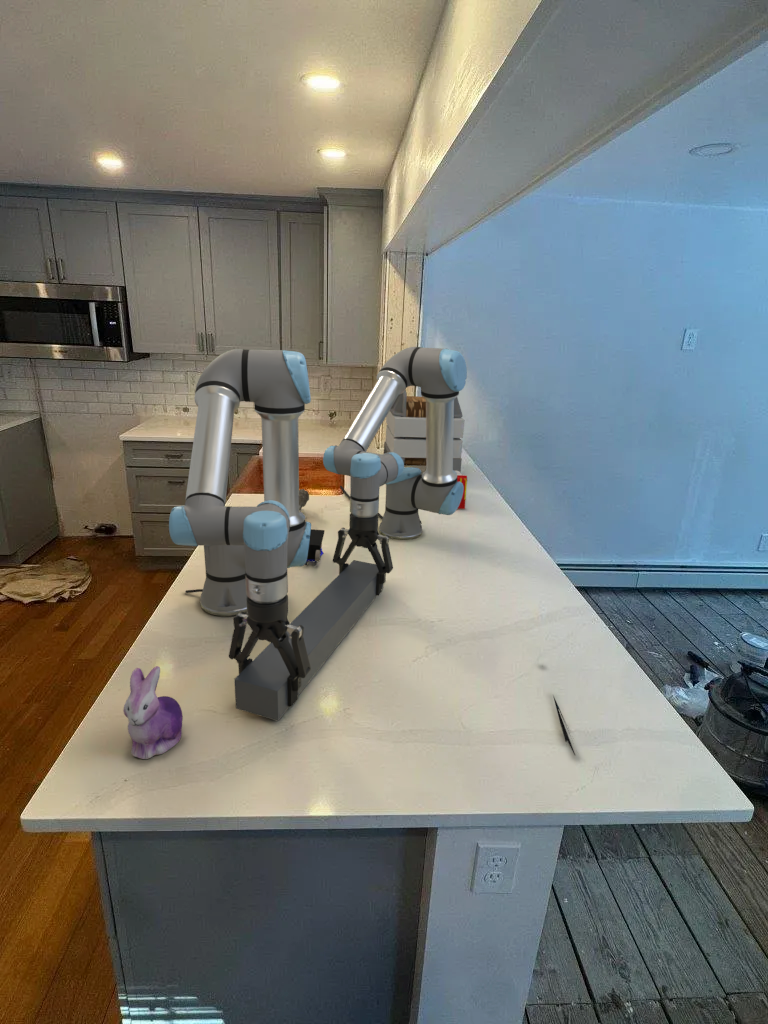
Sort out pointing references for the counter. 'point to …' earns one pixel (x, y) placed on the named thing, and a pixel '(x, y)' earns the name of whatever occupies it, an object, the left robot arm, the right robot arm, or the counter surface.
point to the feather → (563, 726)
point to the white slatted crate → (417, 431)
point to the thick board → (308, 640)
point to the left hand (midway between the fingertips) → (270, 696)
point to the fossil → (303, 498)
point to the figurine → (151, 716)
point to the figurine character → (315, 546)
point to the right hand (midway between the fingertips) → (361, 590)
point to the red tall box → (464, 481)
